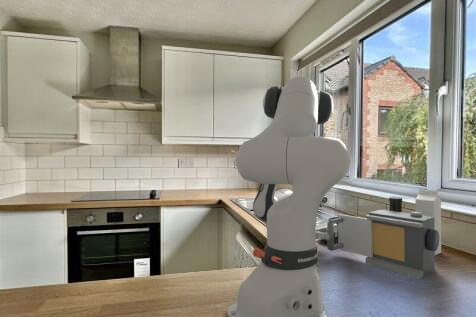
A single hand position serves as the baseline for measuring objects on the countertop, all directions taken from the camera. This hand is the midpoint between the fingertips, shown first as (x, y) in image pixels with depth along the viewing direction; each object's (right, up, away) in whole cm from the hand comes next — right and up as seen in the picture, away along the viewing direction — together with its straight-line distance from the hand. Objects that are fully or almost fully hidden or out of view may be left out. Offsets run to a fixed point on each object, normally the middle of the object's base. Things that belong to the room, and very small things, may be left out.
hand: (333, 235), depth 98 cm
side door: (+5, -6, -1) cm, 8 cm away
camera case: (+19, -8, -7) cm, 22 cm away
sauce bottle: (+24, -8, +5) cm, 26 cm away
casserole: (+13, -8, +22) cm, 27 cm away
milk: (+36, -8, +7) cm, 38 cm away
